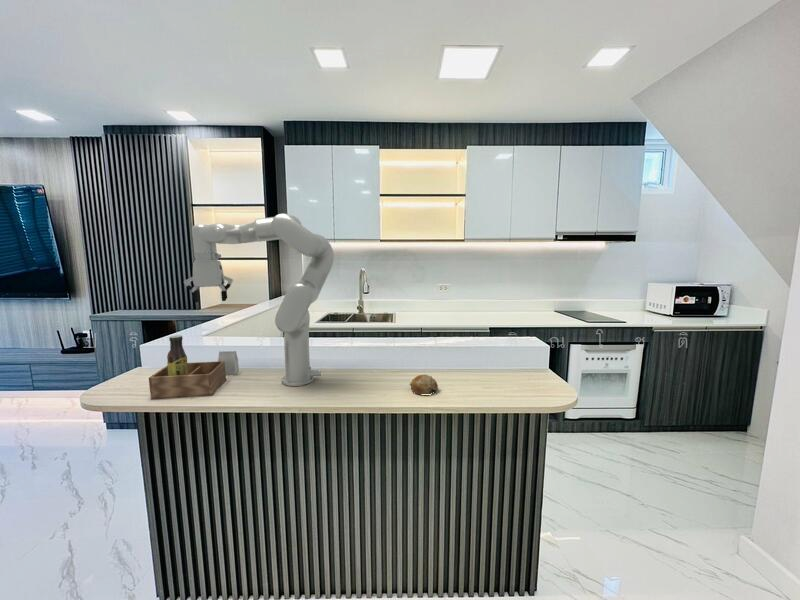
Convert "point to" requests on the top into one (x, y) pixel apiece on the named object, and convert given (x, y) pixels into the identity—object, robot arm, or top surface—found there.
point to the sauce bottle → (177, 357)
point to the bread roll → (424, 384)
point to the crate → (188, 381)
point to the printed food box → (229, 362)
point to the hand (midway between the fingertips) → (210, 301)
